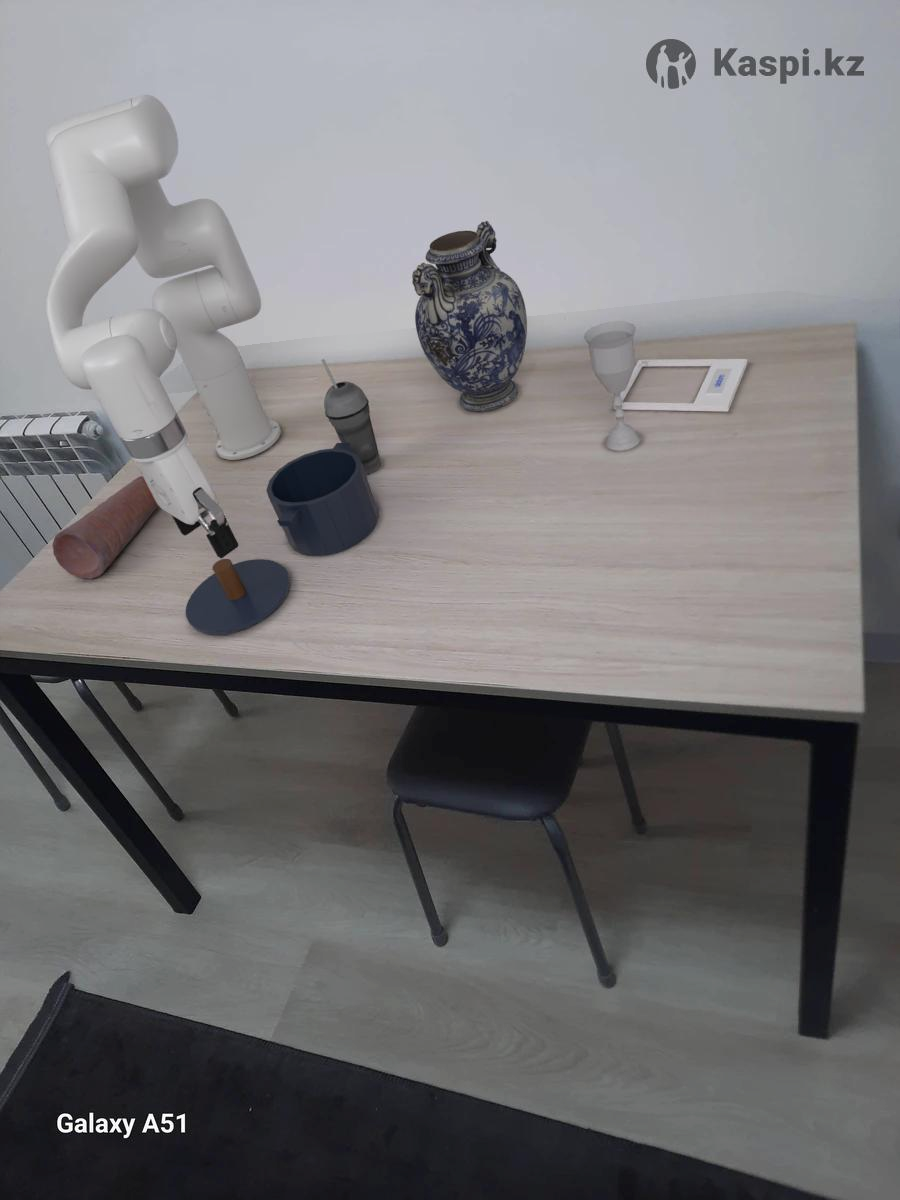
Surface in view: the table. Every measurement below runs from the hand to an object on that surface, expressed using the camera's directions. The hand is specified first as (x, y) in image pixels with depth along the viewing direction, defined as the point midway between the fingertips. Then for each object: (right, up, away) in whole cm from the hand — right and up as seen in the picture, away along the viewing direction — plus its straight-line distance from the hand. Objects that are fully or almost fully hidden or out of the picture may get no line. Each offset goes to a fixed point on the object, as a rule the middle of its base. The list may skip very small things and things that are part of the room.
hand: (210, 540), depth 118 cm
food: (-21, +2, +27) cm, 34 cm away
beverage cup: (+19, +14, +26) cm, 35 cm away
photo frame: (+71, +27, +22) cm, 79 cm away
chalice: (+60, +16, +14) cm, 64 cm away
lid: (+2, -8, +6) cm, 10 cm away
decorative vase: (+40, +28, +35) cm, 60 cm away
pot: (+15, +3, +15) cm, 22 cm away
